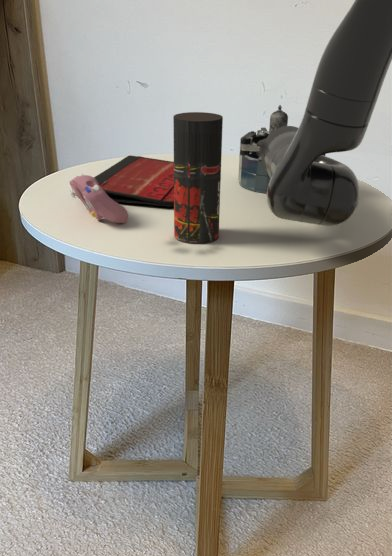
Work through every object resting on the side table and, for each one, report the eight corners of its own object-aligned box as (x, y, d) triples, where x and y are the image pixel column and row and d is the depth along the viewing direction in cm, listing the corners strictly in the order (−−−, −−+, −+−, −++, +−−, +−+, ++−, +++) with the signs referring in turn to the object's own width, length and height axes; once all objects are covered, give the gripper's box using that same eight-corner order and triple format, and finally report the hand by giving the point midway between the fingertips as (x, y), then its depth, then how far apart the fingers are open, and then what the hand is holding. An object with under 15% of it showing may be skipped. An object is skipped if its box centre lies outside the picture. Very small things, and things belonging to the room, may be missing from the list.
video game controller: (83, 216, 90) (58, 177, 85) (108, 200, 91) (84, 160, 86) (106, 238, 82) (80, 196, 78) (133, 219, 83) (108, 177, 79)
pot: (309, 176, 106) (312, 146, 103) (309, 196, 96) (313, 164, 93) (241, 172, 107) (243, 143, 105) (235, 191, 97) (236, 160, 94)
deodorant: (172, 228, 82) (171, 112, 74) (215, 227, 83) (218, 111, 75) (176, 244, 77) (175, 121, 69) (222, 242, 78) (226, 121, 70)
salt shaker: (274, 174, 105) (280, 100, 98) (298, 181, 101) (306, 105, 94) (249, 179, 101) (253, 103, 95) (273, 187, 97) (280, 109, 91)
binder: (77, 184, 91) (127, 153, 108) (78, 200, 92) (127, 166, 109) (178, 199, 87) (213, 164, 105) (177, 214, 89) (212, 178, 106)
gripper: (344, 132, 83) (319, 110, 98) (242, 131, 83) (233, 109, 98) (337, 186, 87) (314, 157, 102) (240, 185, 87) (231, 156, 102)
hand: (275, 134), depth 100 cm, fingers closed on salt shaker, 3 cm apart
